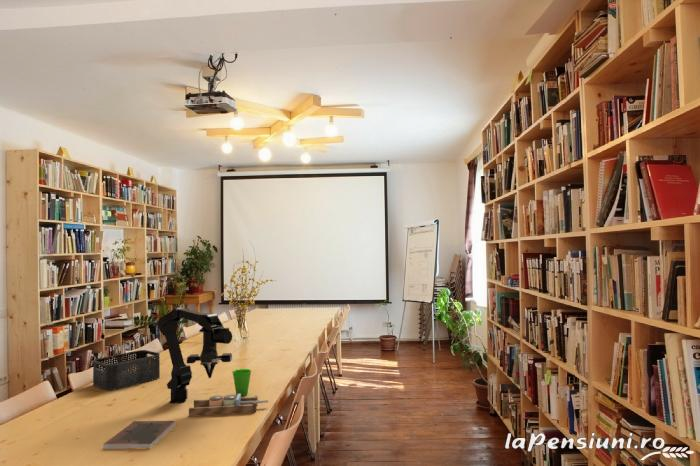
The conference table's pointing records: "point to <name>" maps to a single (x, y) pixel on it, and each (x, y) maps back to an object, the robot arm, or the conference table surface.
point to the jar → (216, 401)
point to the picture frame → (139, 435)
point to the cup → (241, 381)
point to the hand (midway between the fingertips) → (209, 377)
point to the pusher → (238, 401)
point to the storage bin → (126, 370)
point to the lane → (223, 407)
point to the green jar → (229, 400)
